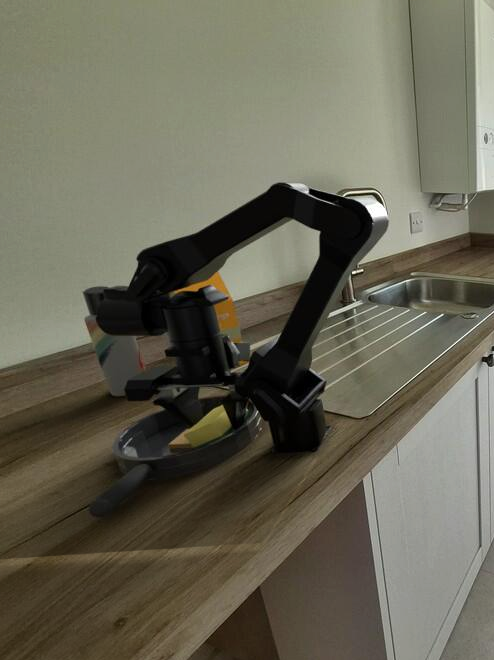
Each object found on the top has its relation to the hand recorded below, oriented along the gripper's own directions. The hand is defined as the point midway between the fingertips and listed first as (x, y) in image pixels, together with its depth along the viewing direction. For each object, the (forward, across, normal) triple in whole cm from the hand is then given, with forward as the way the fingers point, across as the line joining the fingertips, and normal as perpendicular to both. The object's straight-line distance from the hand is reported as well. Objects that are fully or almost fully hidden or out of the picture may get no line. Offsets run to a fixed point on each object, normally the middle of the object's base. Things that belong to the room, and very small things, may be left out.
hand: (221, 432), depth 61 cm
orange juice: (+2, +18, -29) cm, 34 cm away
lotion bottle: (+2, +28, -19) cm, 34 cm away
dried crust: (+1, +4, 0) cm, 5 cm away
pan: (+2, +4, 0) cm, 4 cm away
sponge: (0, 0, 0) cm, 1 cm away
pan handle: (0, +4, +13) cm, 13 cm away
